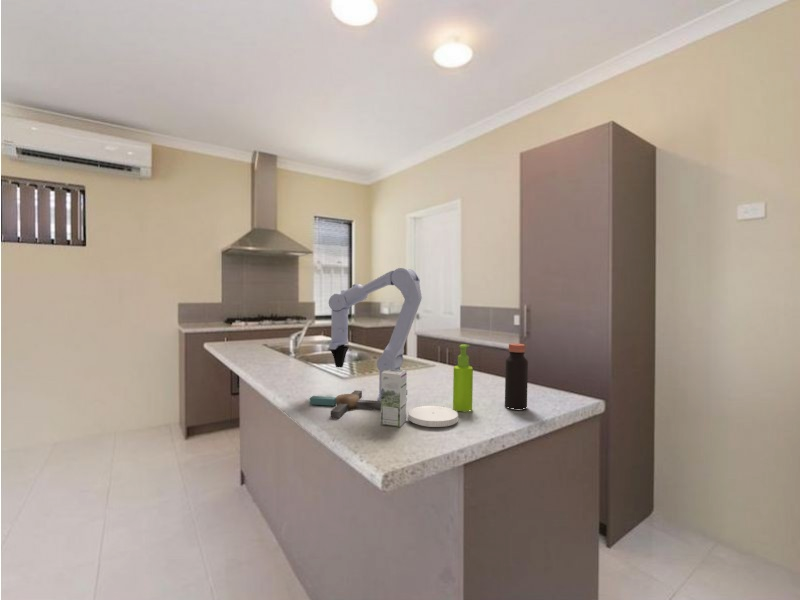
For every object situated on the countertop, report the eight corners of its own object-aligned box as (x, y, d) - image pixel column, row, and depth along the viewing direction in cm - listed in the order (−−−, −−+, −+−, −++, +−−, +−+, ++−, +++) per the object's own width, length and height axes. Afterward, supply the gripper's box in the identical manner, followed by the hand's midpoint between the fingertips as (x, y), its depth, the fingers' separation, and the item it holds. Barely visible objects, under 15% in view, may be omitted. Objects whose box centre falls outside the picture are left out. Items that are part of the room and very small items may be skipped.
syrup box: (406, 421, 110) (407, 369, 110) (399, 428, 105) (400, 373, 104) (387, 418, 112) (388, 367, 112) (379, 425, 106) (380, 371, 106)
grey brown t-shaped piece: (392, 398, 133) (392, 389, 133) (376, 421, 110) (376, 410, 109) (348, 395, 136) (348, 387, 136) (323, 417, 112) (323, 407, 112)
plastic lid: (419, 411, 120) (419, 403, 120) (464, 418, 114) (464, 410, 114) (399, 425, 108) (399, 416, 107) (448, 434, 101) (448, 424, 101)
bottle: (530, 407, 125) (532, 344, 124) (520, 412, 120) (522, 346, 119) (510, 403, 129) (512, 342, 129) (500, 407, 124) (501, 344, 124)
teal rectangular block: (336, 403, 125) (336, 397, 125) (334, 405, 123) (334, 399, 123) (312, 402, 127) (312, 395, 127) (309, 404, 124) (309, 397, 124)
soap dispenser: (475, 407, 124) (476, 344, 124) (469, 413, 118) (470, 346, 118) (457, 404, 127) (458, 342, 126) (450, 410, 121) (451, 345, 120)
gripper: (335, 326, 146) (335, 362, 146) (321, 330, 131) (320, 370, 132) (354, 326, 144) (353, 363, 145) (341, 330, 130) (341, 371, 130)
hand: (339, 367), depth 138 cm, fingers closed
